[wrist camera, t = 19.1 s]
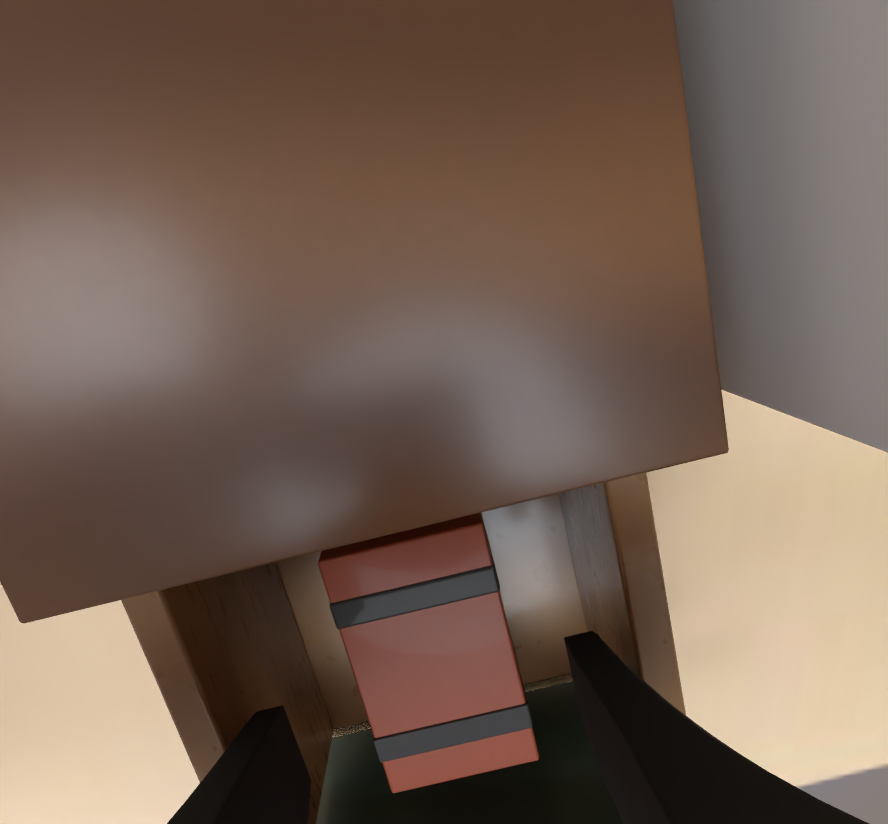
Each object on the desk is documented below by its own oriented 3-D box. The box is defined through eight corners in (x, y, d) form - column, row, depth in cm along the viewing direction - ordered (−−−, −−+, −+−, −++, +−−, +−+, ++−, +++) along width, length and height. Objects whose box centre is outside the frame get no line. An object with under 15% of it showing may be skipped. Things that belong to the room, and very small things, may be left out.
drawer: (655, 807, 20) (764, 1054, 14) (360, 876, 20) (333, 1150, 14) (555, 274, 16) (647, 275, 9) (175, 369, 16) (10, 433, 10)
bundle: (517, 663, 17) (541, 762, 14) (396, 691, 18) (390, 797, 14) (470, 468, 16) (484, 523, 12) (337, 499, 16) (314, 564, 12)
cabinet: (587, 371, 17) (731, 453, 9) (202, 465, 17) (19, 626, 9) (477, -235, 14) (557, -955, 6) (-9, -106, 14) (-592, -624, 6)
